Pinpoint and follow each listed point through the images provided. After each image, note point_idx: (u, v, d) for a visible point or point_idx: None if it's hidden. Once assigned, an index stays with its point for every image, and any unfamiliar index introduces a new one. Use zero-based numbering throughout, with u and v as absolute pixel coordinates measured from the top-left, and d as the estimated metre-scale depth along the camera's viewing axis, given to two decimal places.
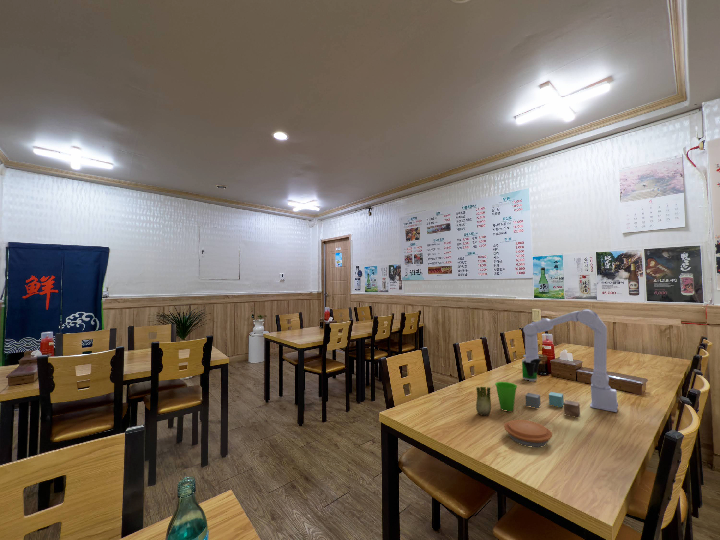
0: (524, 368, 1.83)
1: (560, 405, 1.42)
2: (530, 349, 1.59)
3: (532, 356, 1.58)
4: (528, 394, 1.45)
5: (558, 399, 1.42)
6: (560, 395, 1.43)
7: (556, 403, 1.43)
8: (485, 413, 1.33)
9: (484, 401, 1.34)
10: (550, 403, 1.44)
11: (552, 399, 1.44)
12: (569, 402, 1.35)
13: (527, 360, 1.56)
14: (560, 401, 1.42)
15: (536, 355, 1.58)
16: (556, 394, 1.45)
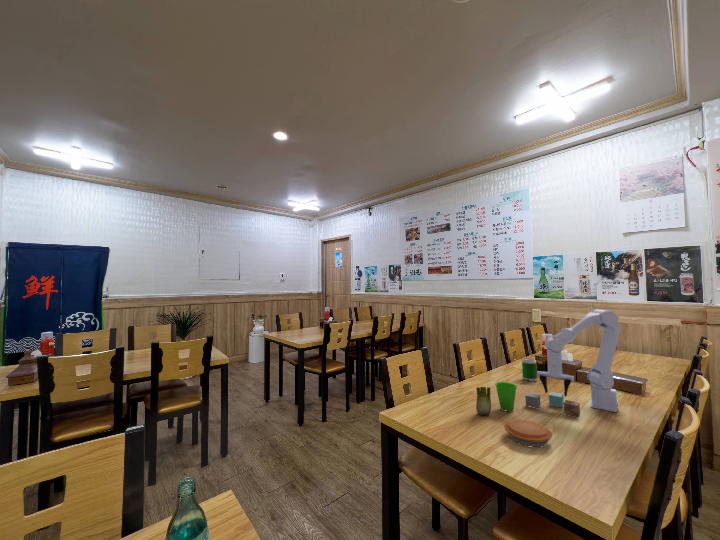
0: (524, 368, 1.83)
1: (560, 405, 1.42)
2: None
3: (548, 372, 1.46)
4: (528, 394, 1.45)
5: (558, 399, 1.42)
6: (560, 395, 1.43)
7: (556, 403, 1.43)
8: (485, 413, 1.33)
9: (484, 401, 1.34)
10: (550, 403, 1.44)
11: (552, 399, 1.44)
12: (569, 402, 1.35)
13: None
14: (560, 401, 1.42)
15: (550, 372, 1.44)
16: (556, 394, 1.45)
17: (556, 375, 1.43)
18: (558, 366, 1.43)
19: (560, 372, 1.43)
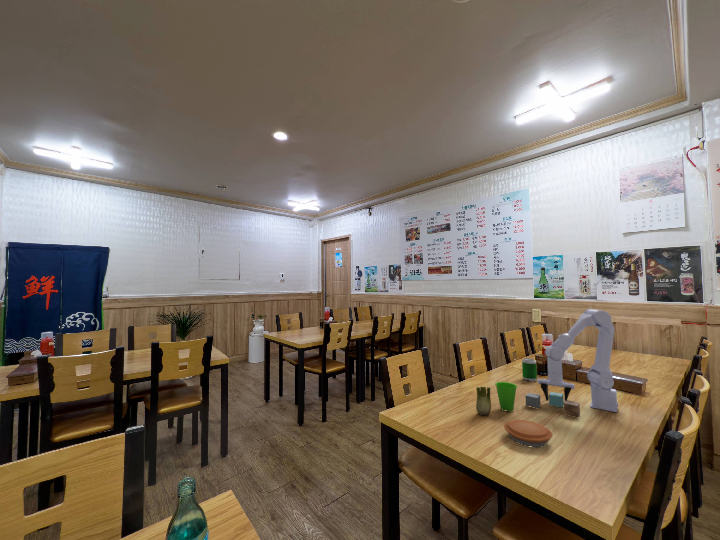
0: (524, 368, 1.83)
1: (560, 405, 1.42)
2: (548, 372, 1.47)
3: (548, 380, 1.46)
4: (528, 394, 1.45)
5: (558, 399, 1.42)
6: (560, 395, 1.43)
7: (556, 403, 1.43)
8: (485, 413, 1.33)
9: (484, 401, 1.34)
10: (550, 403, 1.44)
11: (552, 399, 1.44)
12: (569, 402, 1.35)
13: None
14: (560, 401, 1.42)
15: (551, 380, 1.44)
16: (556, 394, 1.45)
17: (556, 383, 1.43)
18: (558, 374, 1.43)
19: (560, 380, 1.43)
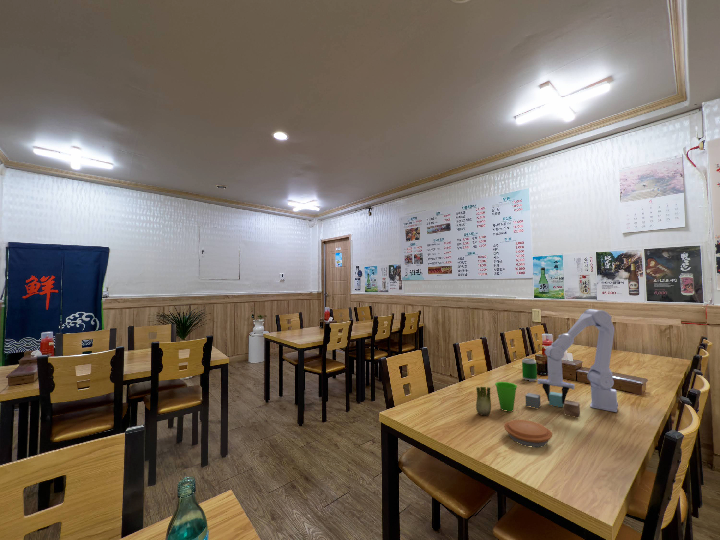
0: (524, 368, 1.83)
1: (560, 405, 1.42)
2: (548, 372, 1.47)
3: (548, 380, 1.46)
4: (528, 394, 1.45)
5: (558, 399, 1.42)
6: (560, 395, 1.43)
7: (556, 403, 1.43)
8: (485, 413, 1.33)
9: (484, 401, 1.34)
10: (550, 403, 1.44)
11: (552, 399, 1.44)
12: (569, 402, 1.35)
13: None
14: (560, 401, 1.42)
15: (551, 380, 1.44)
16: (556, 394, 1.45)
17: (556, 383, 1.43)
18: (558, 374, 1.43)
19: (560, 380, 1.43)
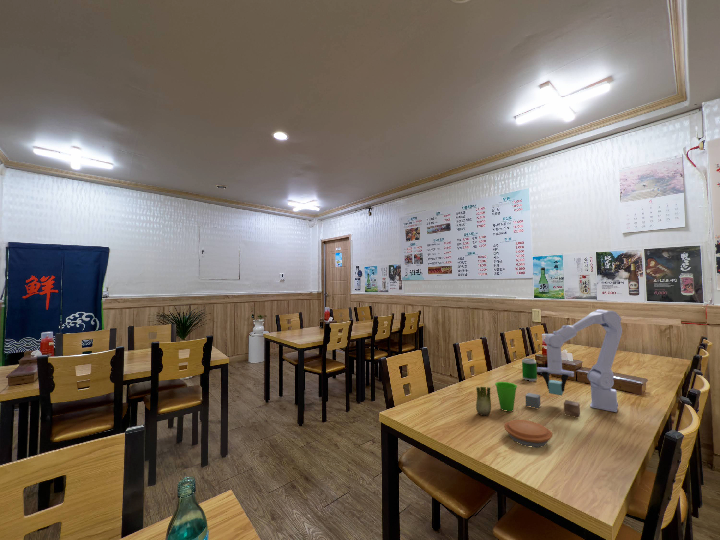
0: (524, 368, 1.83)
1: (560, 392, 1.42)
2: None
3: (547, 368, 1.47)
4: (528, 394, 1.45)
5: (557, 386, 1.43)
6: (559, 383, 1.43)
7: (556, 390, 1.43)
8: (485, 413, 1.33)
9: (484, 401, 1.34)
10: (550, 391, 1.44)
11: (552, 387, 1.44)
12: (569, 402, 1.35)
13: None
14: (560, 388, 1.42)
15: (550, 368, 1.45)
16: (555, 382, 1.45)
17: (556, 371, 1.43)
18: (558, 362, 1.43)
19: (560, 368, 1.43)
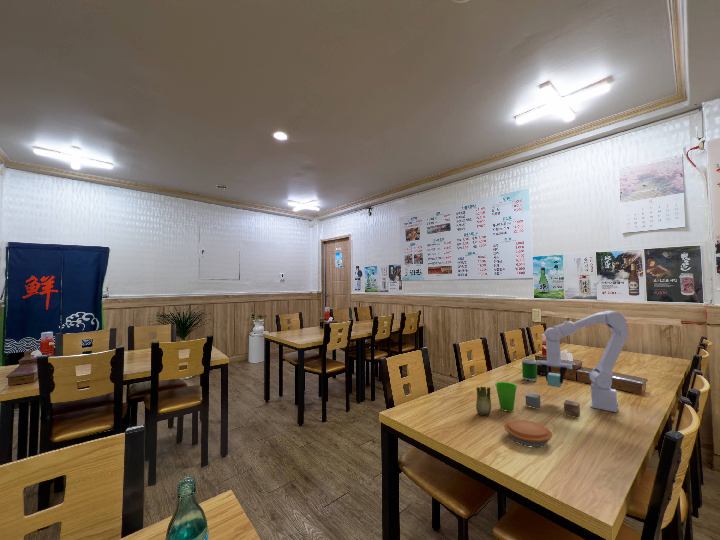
0: (524, 368, 1.83)
1: (558, 384, 1.46)
2: None
3: (546, 361, 1.50)
4: (528, 394, 1.45)
5: (556, 378, 1.46)
6: (558, 375, 1.47)
7: (554, 383, 1.47)
8: (485, 413, 1.33)
9: (484, 401, 1.34)
10: (548, 383, 1.48)
11: (550, 379, 1.48)
12: (569, 402, 1.35)
13: None
14: (558, 380, 1.46)
15: (549, 361, 1.48)
16: (554, 374, 1.49)
17: (554, 363, 1.47)
18: (556, 355, 1.47)
19: (558, 360, 1.47)
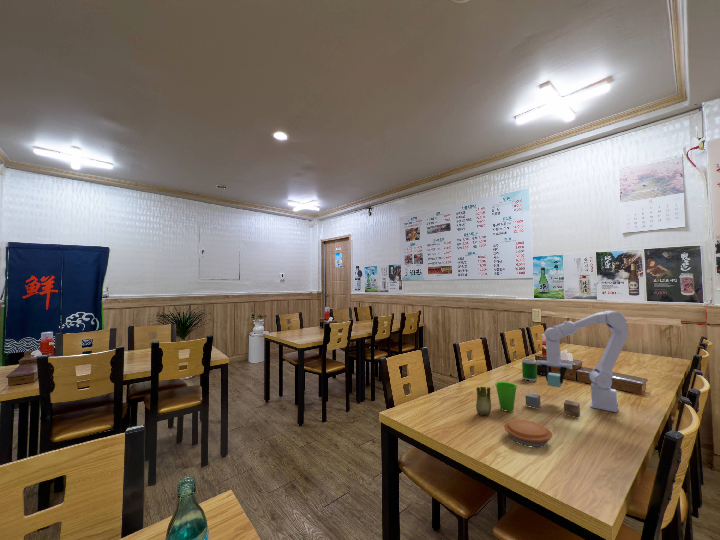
0: (524, 368, 1.83)
1: (558, 384, 1.46)
2: None
3: (546, 361, 1.50)
4: (528, 394, 1.45)
5: (556, 378, 1.46)
6: (558, 375, 1.47)
7: (554, 383, 1.47)
8: (485, 413, 1.33)
9: (484, 401, 1.34)
10: (548, 383, 1.48)
11: (550, 379, 1.48)
12: (569, 402, 1.35)
13: None
14: (558, 380, 1.46)
15: (549, 361, 1.48)
16: (554, 374, 1.49)
17: (554, 363, 1.47)
18: (556, 355, 1.47)
19: (558, 360, 1.47)
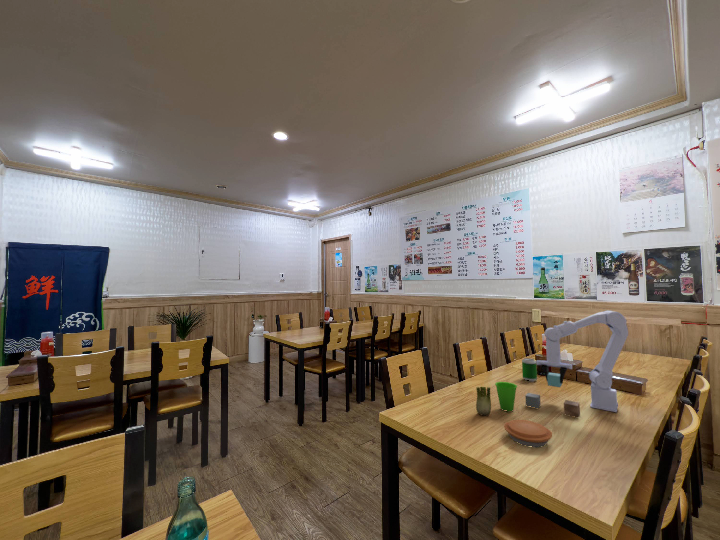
0: (524, 368, 1.83)
1: (558, 384, 1.46)
2: None
3: (546, 361, 1.50)
4: (528, 394, 1.45)
5: (556, 378, 1.46)
6: (558, 375, 1.47)
7: (554, 383, 1.47)
8: (485, 413, 1.33)
9: (484, 401, 1.34)
10: (548, 383, 1.48)
11: (550, 379, 1.48)
12: (569, 402, 1.35)
13: None
14: (558, 380, 1.46)
15: (549, 361, 1.48)
16: (554, 374, 1.49)
17: (554, 363, 1.47)
18: (556, 355, 1.47)
19: (558, 360, 1.47)
